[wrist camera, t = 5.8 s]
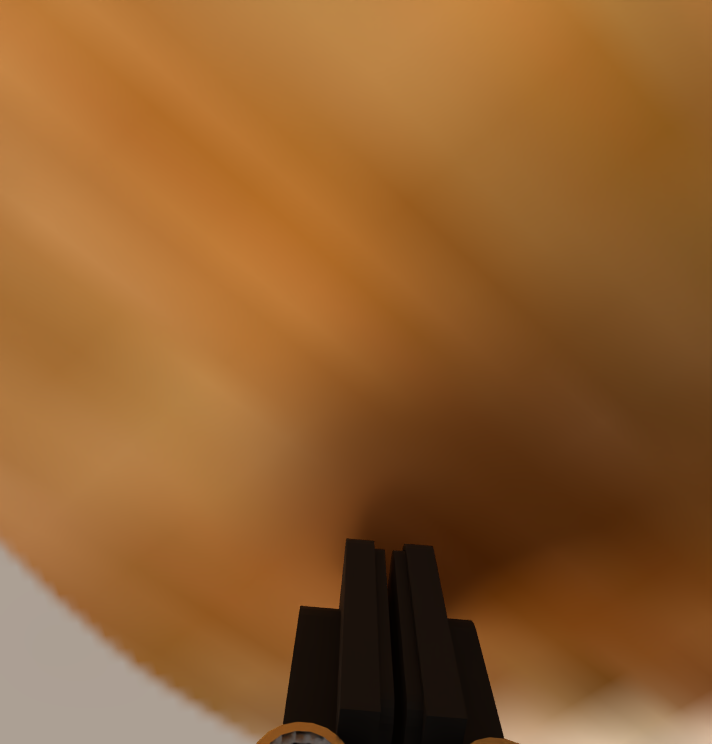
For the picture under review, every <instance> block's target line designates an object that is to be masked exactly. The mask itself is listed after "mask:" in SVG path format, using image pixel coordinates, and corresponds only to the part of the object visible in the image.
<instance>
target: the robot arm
mask: <svg viewBox="0 0 712 744" xmlns="http://www.w3.org/2000/svg"><path fill="white" fill-rule="evenodd" d="M257 744H519V743H516V742H513V741H510V740H507V739H504V736H503V732H502V728H501V724H500V720H499V717H498V713H497V709H496V705H495V701H494V697H493V693H492V690H491V686H490V682H489V678H488V674H487V670H486V666H485V663H484V659H483V655H482V651H481V647H480V643H479V639H478V636H477V632H476V628H475V625H474V623H473V622H472V621H471V620H461V619H449V618H447V614H446V609H445V604H444V599H443V594H442V589H441V584H440V579H439V574H438V569H437V564H436V559H435V554H434V549H433V547H432V546H426V545H414V544H404V546H403V550H402V551H395V550H393V552H392V557H391V565H390V573H389V580H388V588H387V576H386V561H385V550H384V549H375V545H374V541H369V540H357V539H346V546H345V555H344V565H343V575H342V585H341V594H340V604H339V609H331V608H319V607H308V606H300V611H299V617H298V624H297V631H296V638H295V645H294V652H293V659H292V666H291V672H290V679H289V686H288V693H287V700H286V707H285V714H284V721H283V725H281V726H279V727H277V728H275V729H273V730H271V731H269V732H268V733H267V734H266V735H264V736H263V737H262V738H261V739H260V740H259V741H258V742H257Z"/></svg>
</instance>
